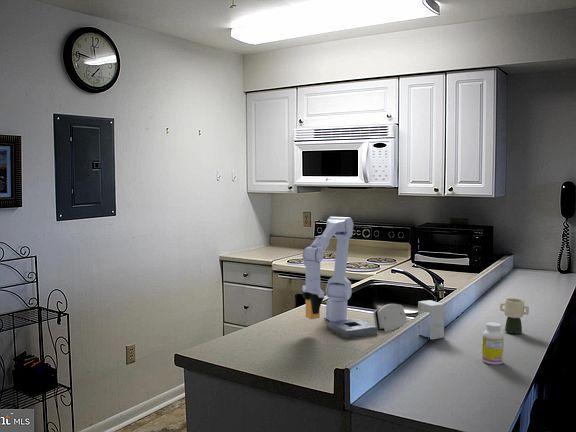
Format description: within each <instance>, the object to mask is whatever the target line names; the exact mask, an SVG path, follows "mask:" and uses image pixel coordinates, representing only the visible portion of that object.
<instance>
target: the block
mask: <svg viewBox="0 0 576 432" xmlns="http://www.w3.org/2000/svg"><path fill="white" fill-rule="evenodd" d="M320 311H321V309H319V313H318V314H313V311H312V303H311V300H310V299H306V303H305V317H306V319H307V318H308V319H309V320H315V319H320V316H321V315H320V313H321V312H320Z"/></svg>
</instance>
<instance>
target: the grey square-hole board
mask: <svg viewBox="0 0 576 432" xmlns="http://www.w3.org/2000/svg"><path fill="white" fill-rule="evenodd" d="M327 330H329V332H332V333H334V334H336V335H338V336H340V337H342V338H344V339H346V340H347V339H354V338H355V339H356V338H361V337H366V336H367V337H368V336H373V335H378V329H377V326H375V324H372V323H370V322H367V321H366V320H362V319H360V318H358V317H356V318H348V319H347V320H340V321H328V322H327Z"/></svg>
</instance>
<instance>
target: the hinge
mask: <svg viewBox="0 0 576 432" xmlns="http://www.w3.org/2000/svg"><path fill="white" fill-rule="evenodd" d="M372 316H373V320H374V325H375V326H377V330H379V329H384V330H383V331H384V332H389V331H392V330H397V329H398V328H399V327H400V328H402V327H401V326H403V325H404V324H406V323H407V322H409V321H410V319H409V318H407V314H406V313H405V309H404V306H403V305H402V304H399V303H388V304H385V305H382V306H380V307H378V308H377V309H375V310H374V311H373V313H372ZM403 327H404V326H403Z"/></svg>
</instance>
